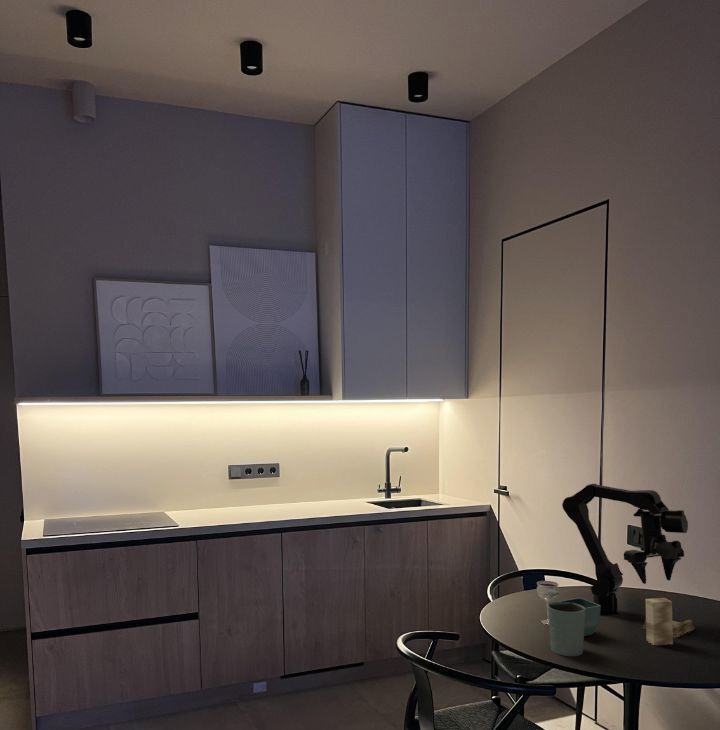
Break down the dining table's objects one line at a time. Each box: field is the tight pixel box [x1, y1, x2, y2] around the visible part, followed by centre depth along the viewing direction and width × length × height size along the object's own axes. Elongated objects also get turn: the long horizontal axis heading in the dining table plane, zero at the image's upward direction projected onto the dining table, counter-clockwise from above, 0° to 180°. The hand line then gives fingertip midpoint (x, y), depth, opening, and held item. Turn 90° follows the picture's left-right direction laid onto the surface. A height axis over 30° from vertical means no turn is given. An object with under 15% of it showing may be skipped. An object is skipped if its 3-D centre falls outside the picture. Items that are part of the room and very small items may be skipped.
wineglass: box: [536, 580, 560, 626], centre depth 208 cm, size 7×7×12 cm
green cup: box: [546, 601, 586, 657], centre depth 185 cm, size 10×10×12 cm
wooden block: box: [645, 597, 674, 646], centre depth 190 cm, size 6×4×12 cm, turn 101°
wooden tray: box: [642, 619, 696, 639], centre depth 201 cm, size 12×10×2 cm
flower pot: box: [558, 597, 601, 637], centre depth 198 cm, size 9×9×9 cm
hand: (656, 581), depth 207 cm, fingers open, 9 cm apart
